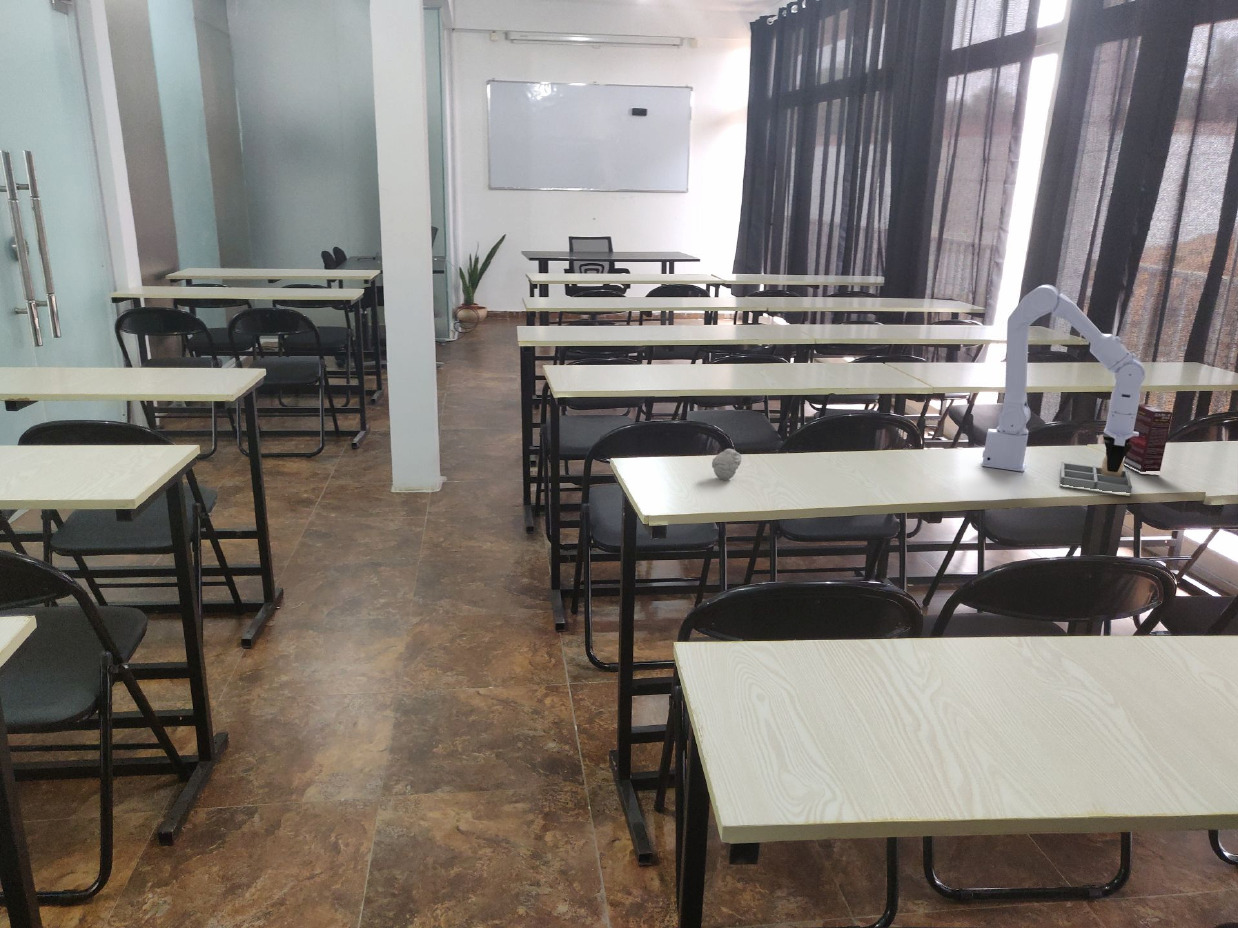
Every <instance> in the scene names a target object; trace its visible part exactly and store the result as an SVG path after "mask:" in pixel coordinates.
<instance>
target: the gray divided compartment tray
mask: <svg viewBox="0 0 1238 928" xmlns="http://www.w3.org/2000/svg"><path fill="white" fill-rule="evenodd" d="M1100 472H1101V466H1100V467H1099V466H1094V465H1084V464H1078V463H1077V464H1076V463H1071V462H1062V461H1061V464H1060V469H1059V485H1060V484H1062V485H1069V486H1073V487H1084V488H1090V489H1099V490H1102V491H1112V492H1126V493H1132V489H1133V486H1132V485H1133V484H1132V481H1131V478H1130V474H1129V471H1128V470H1122V475H1121V477H1116V476H1109V475H1102V474H1100Z"/></svg>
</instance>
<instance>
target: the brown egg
mask: <svg viewBox="0 0 1238 928" xmlns="http://www.w3.org/2000/svg"><path fill="white" fill-rule="evenodd" d="M1100 467H1101V472H1100V474H1102V475H1109V476H1116V477H1121V475H1122V470H1123V469H1124V460H1123V461H1122V463H1121V466H1120V468H1119V470H1118V472H1111V471H1107V456H1106V455H1105V456H1104V458H1103V459H1102V462H1101V466H1100Z"/></svg>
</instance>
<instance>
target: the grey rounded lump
mask: <svg viewBox="0 0 1238 928" xmlns="http://www.w3.org/2000/svg"><path fill="white" fill-rule="evenodd" d="M741 462H742V454H740V453H739V452H737V451H736V450H735V449H732V448H726V449H724V450H723V451H721V452H719V453H718V454H717V455H716V456H715V457H714V458H713V459H712V461H711V467H712V469H713V472H714V474H715V476H716V477H717V478H718V479H720V480H723V481H726V480H730V479H732V478H733V477H734V476H735V474H736V471H737V470H738V469H739V467H740V465H741Z"/></svg>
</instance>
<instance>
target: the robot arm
mask: <svg viewBox="0 0 1238 928" xmlns="http://www.w3.org/2000/svg"><path fill="white" fill-rule="evenodd" d="M1052 311H1053V313H1052V315H1051V316H1052V317H1055V318H1059V319H1063V320H1066V321H1067V322H1068V323H1069V324H1070V326H1072V327H1073V328H1074V329H1075V330H1076V331H1077V333H1079V334H1080V335H1081V336H1082V337H1083V338H1085V339H1086V341H1088V343H1090V345H1089V346H1090V347H1089V352H1090V353H1091V354H1092V355H1093V356H1094V358H1096V359H1097V360H1098V361H1099V362H1100V363H1101V364H1102V365H1103V367H1104V368H1106V370H1108V372H1112V373H1114V379H1115V384H1114V389H1113V390H1112V392H1111V397H1110V402H1109V408H1108V412H1107V418H1106V424H1105V428H1103V433H1104V434H1102V438H1103V443H1104V446H1105V456H1107V471H1111V472H1118V470H1119V468H1120V466H1121V463H1122V461H1124V459H1125V455H1126V454H1127V452H1128V451H1129V450H1130V449H1131V447H1132V445H1131V444H1128V442H1129V441H1130V437H1132V436H1139V433H1138V432H1134V425H1135V420H1136V415H1137V411H1138V405H1139V404H1140V400H1141V391H1142V386H1143V385H1142V384H1143V382H1144V381H1145V378H1146V375H1145V374H1146V368H1145V366H1144V364H1143V363H1142V361H1141V360H1140V359H1138V358H1136V357H1137V355H1136V354H1135V353H1134V352H1133V353H1131V352H1130V351H1129V350H1128V349H1127V348H1126V347H1125V346H1124V345H1123V344H1122V343H1121V342H1122V338H1120V337H1119V336H1118V335H1117V336H1114V335H1113V334H1112V333H1102V331H1100V330H1099V328H1098V327H1097V326H1096V325H1095V324H1094V323H1093V322H1092V321H1091V319H1089V317H1088V316H1087V315H1086V314H1085V312H1083V311H1082V309H1080V308H1079V307H1078V306H1077V304H1076V303H1075V302H1073V301H1072V300H1071V298H1069V297H1067V296H1066V295H1065V294H1064V293H1060V291H1059V289H1058V288H1057V287H1055V286H1054V285H1051V284H1041V285H1039V286H1037V287H1036V288H1035V289H1033V290H1032V291H1030V292H1029V293H1027V294H1026V295H1024V296H1023V297H1022V299H1021V301H1020V302H1019V303H1018V305H1016V307H1015V309H1014V310H1013V311H1012V312H1011V313H1010V315H1009V317H1008V319H1007V323H1006V324H1007V327H1006V355H1005V356H1006V357H1005V382H1004V384H1005V385H1004V387H1005V388H1004V389H1005V391H1004V398H1003V402H1002V410H1001V412H1000V413H999V415H998V418H997V419H998V425H997V427H996V428H988V429H987V433H986V438H985V444H984V445H985V446H984V450H983V452H982V458H983V459H982V465H981V466H983V467H988V468H993V469H1000V470H1010V471H1016V472H1023V471H1024V472H1025V467H1026V462H1025V456H1026V450H1027V443H1028V438H1029V429H1028V428H1027V423H1028V422H1029V421H1030V419H1031V416H1032V413H1031V409H1030V407H1029V404H1028V394H1027V386H1028V382H1027V381H1028V362H1029V361H1028V359H1029V358H1028V357H1029V353H1028V352H1029V334H1030V333H1029V331H1030V330H1029V328H1030V326H1031V325H1032V324H1033V323H1034V322H1035V321H1036V320H1038V319H1039V318H1041V317H1044V316H1045V315H1047V314H1050V313H1051V312H1052Z"/></svg>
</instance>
